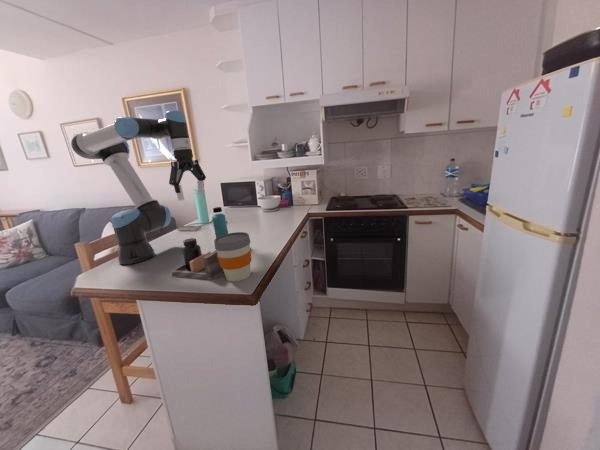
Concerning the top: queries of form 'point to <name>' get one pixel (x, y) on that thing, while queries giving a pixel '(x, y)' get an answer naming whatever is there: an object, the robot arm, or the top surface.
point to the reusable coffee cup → (234, 255)
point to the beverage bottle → (219, 222)
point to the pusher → (198, 262)
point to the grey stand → (208, 272)
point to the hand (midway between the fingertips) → (192, 197)
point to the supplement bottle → (190, 251)
